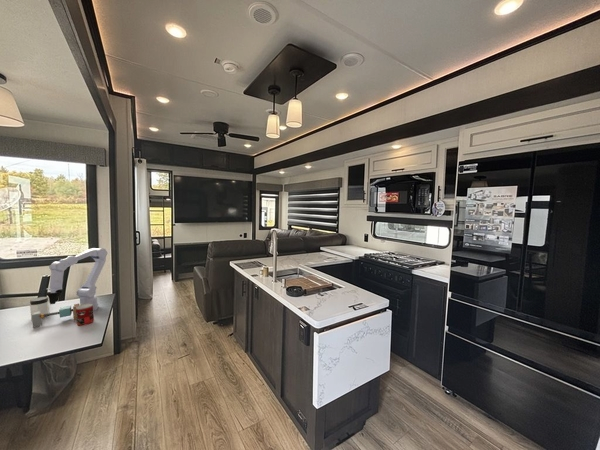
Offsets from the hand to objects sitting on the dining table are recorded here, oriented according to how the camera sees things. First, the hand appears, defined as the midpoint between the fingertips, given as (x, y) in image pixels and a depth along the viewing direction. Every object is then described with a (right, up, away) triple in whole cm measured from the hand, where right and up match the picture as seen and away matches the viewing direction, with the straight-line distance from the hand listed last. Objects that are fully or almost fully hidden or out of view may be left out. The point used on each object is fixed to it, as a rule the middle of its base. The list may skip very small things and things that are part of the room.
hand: (53, 302), depth 153 cm
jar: (-18, -12, +9) cm, 24 cm away
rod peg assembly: (+1, -13, +2) cm, 13 cm away
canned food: (+20, -13, 0) cm, 24 cm away
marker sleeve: (+4, -9, +4) cm, 11 cm away
